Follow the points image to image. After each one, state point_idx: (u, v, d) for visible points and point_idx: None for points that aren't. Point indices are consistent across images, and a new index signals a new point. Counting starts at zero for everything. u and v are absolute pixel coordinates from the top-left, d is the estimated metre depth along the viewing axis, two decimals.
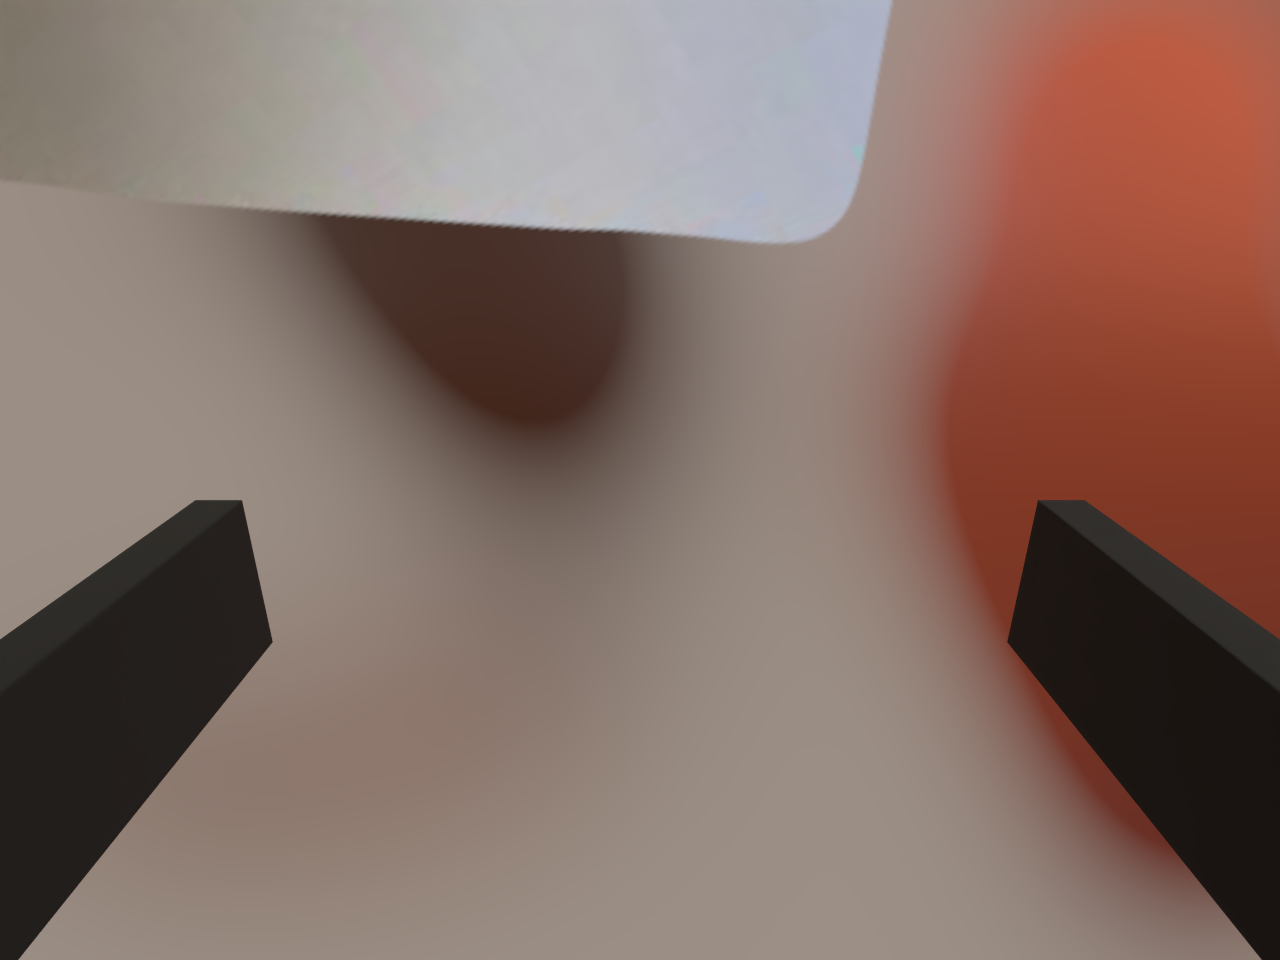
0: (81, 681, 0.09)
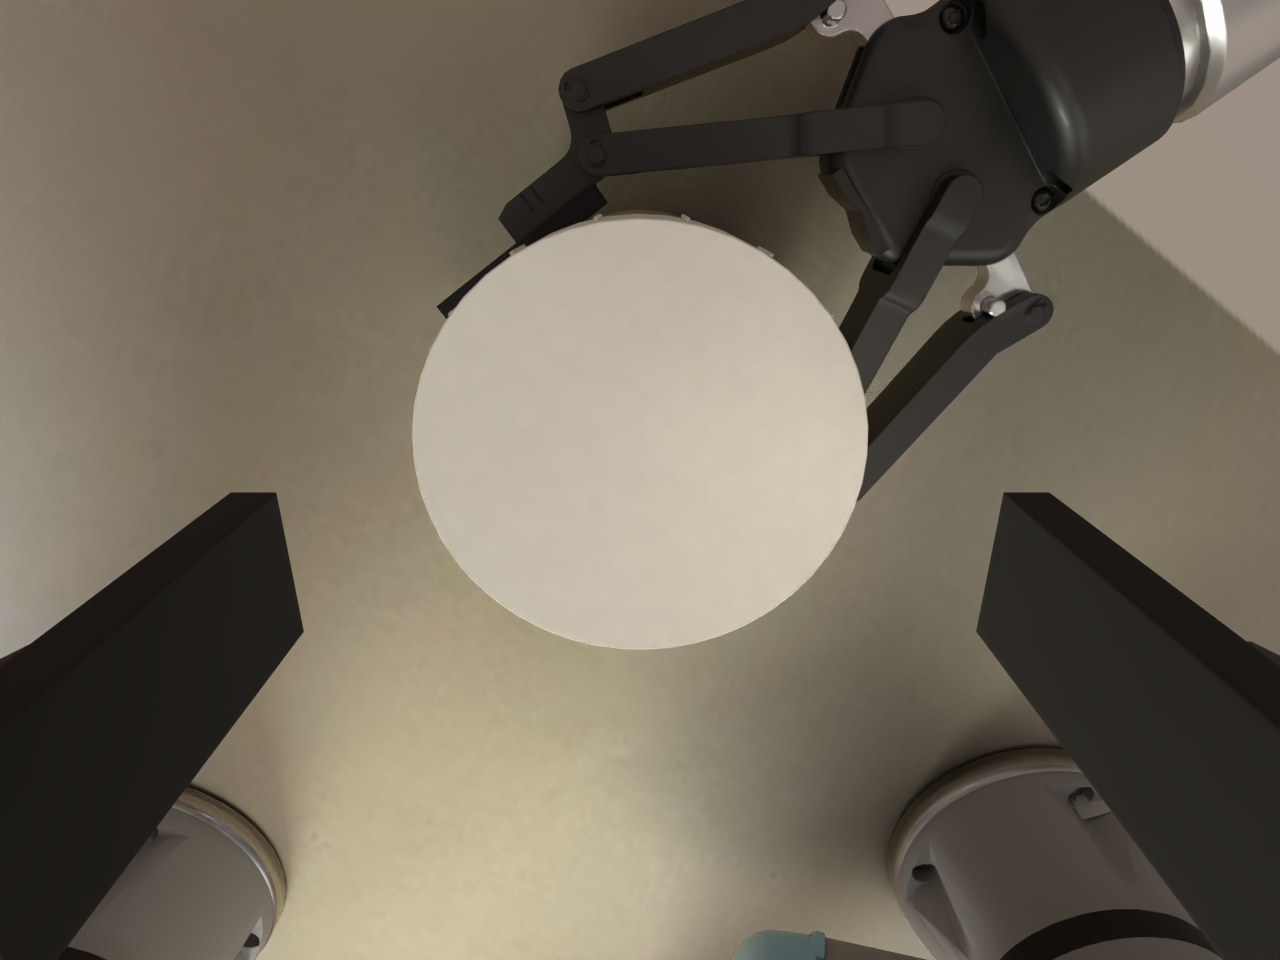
0: (134, 664, 0.09)
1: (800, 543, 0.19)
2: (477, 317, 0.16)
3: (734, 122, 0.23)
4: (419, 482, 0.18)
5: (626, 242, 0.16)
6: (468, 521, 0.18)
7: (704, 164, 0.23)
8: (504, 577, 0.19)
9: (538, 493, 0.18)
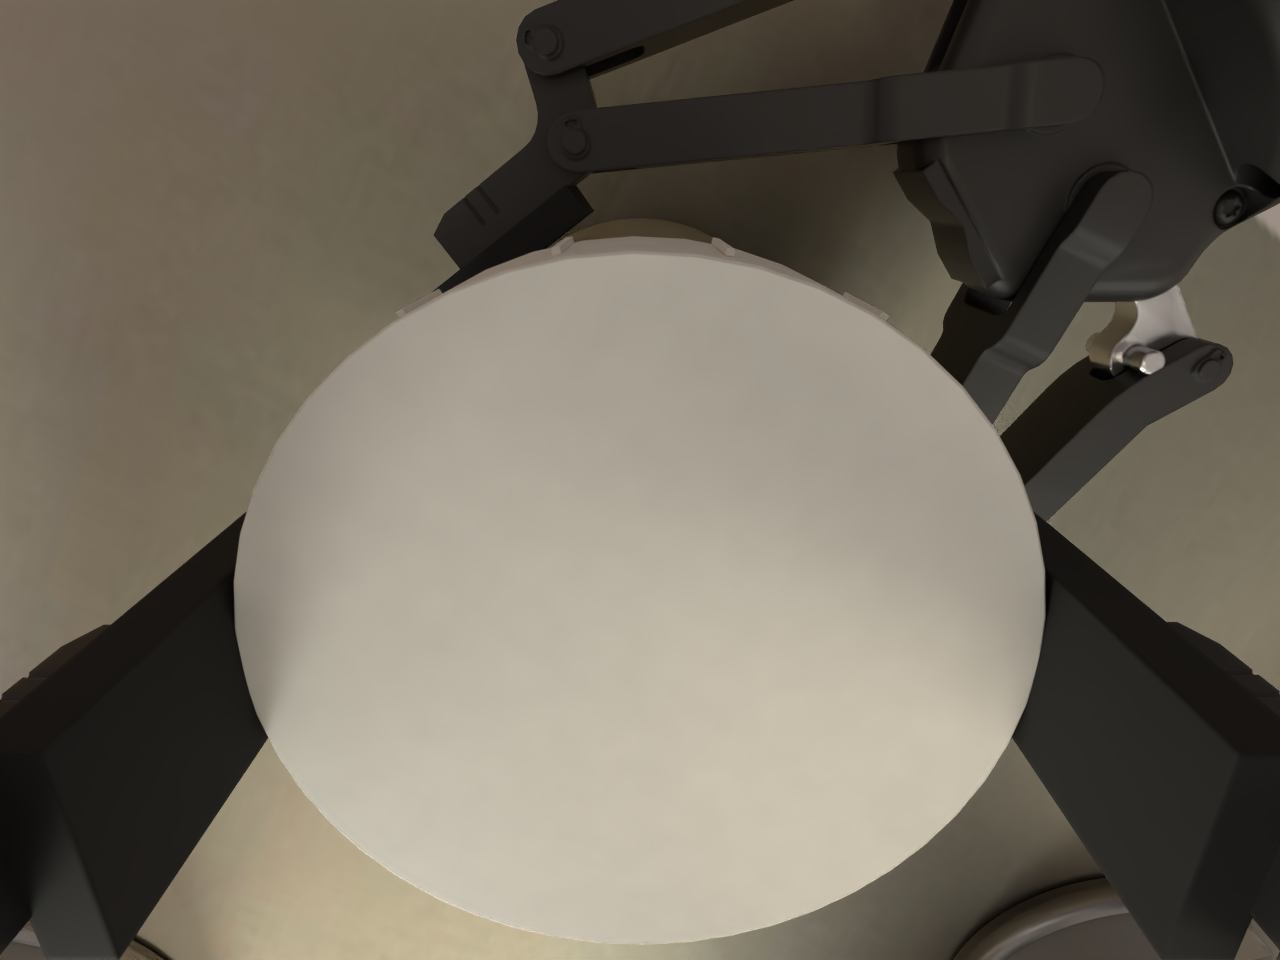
0: (208, 642, 0.09)
1: (912, 795, 0.11)
2: (336, 433, 0.09)
3: (780, 92, 0.15)
4: (254, 705, 0.10)
5: (613, 297, 0.08)
6: (345, 763, 0.11)
7: (735, 155, 0.16)
8: (412, 845, 0.11)
9: (463, 721, 0.10)
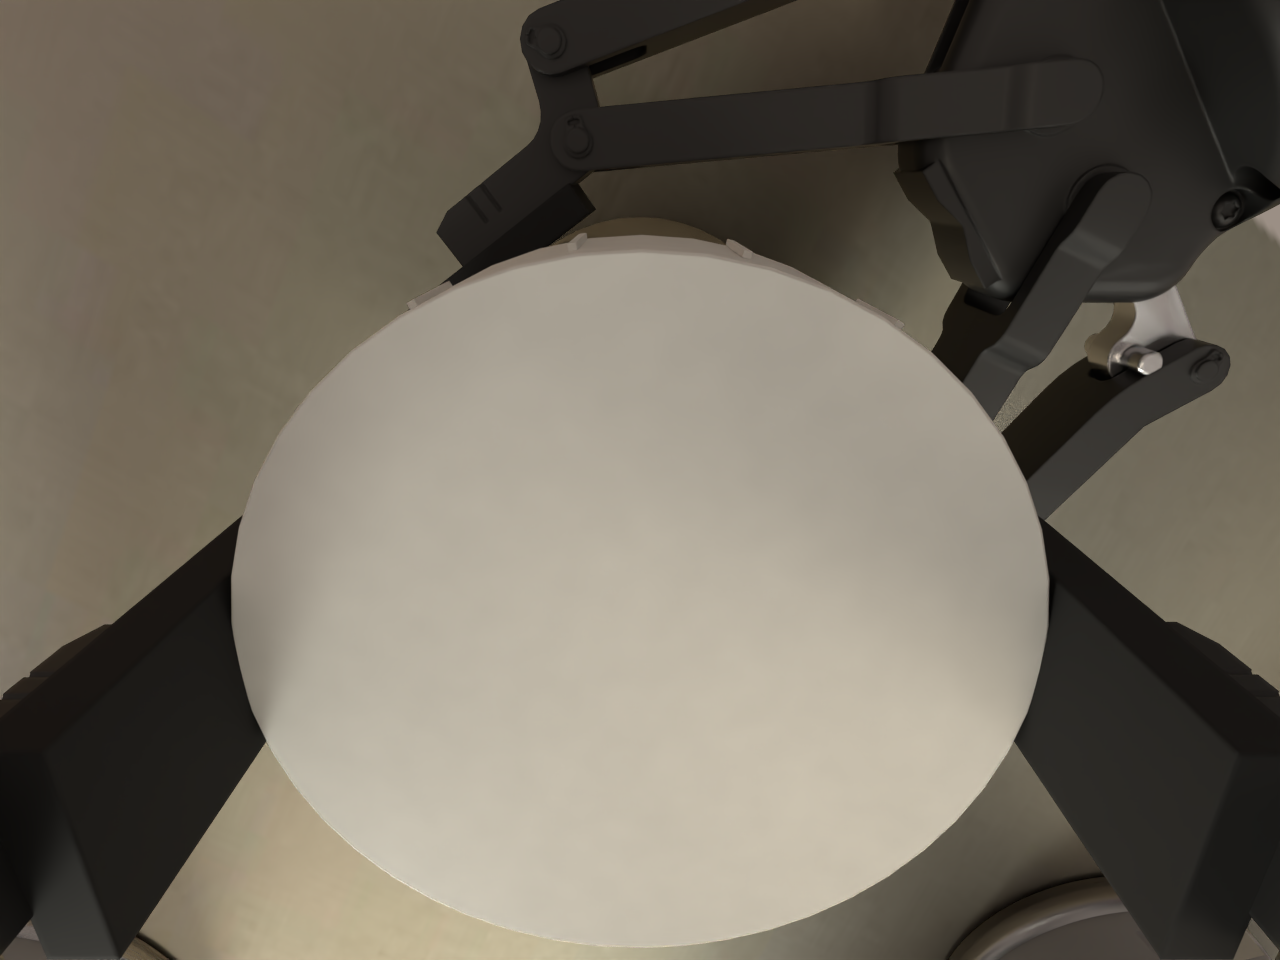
0: (209, 642, 0.09)
1: (749, 341, 0.08)
2: (488, 899, 0.12)
3: (782, 92, 0.15)
4: None
5: (308, 755, 0.11)
6: (811, 870, 0.11)
7: (736, 154, 0.16)
8: (908, 815, 0.11)
9: (741, 794, 0.11)
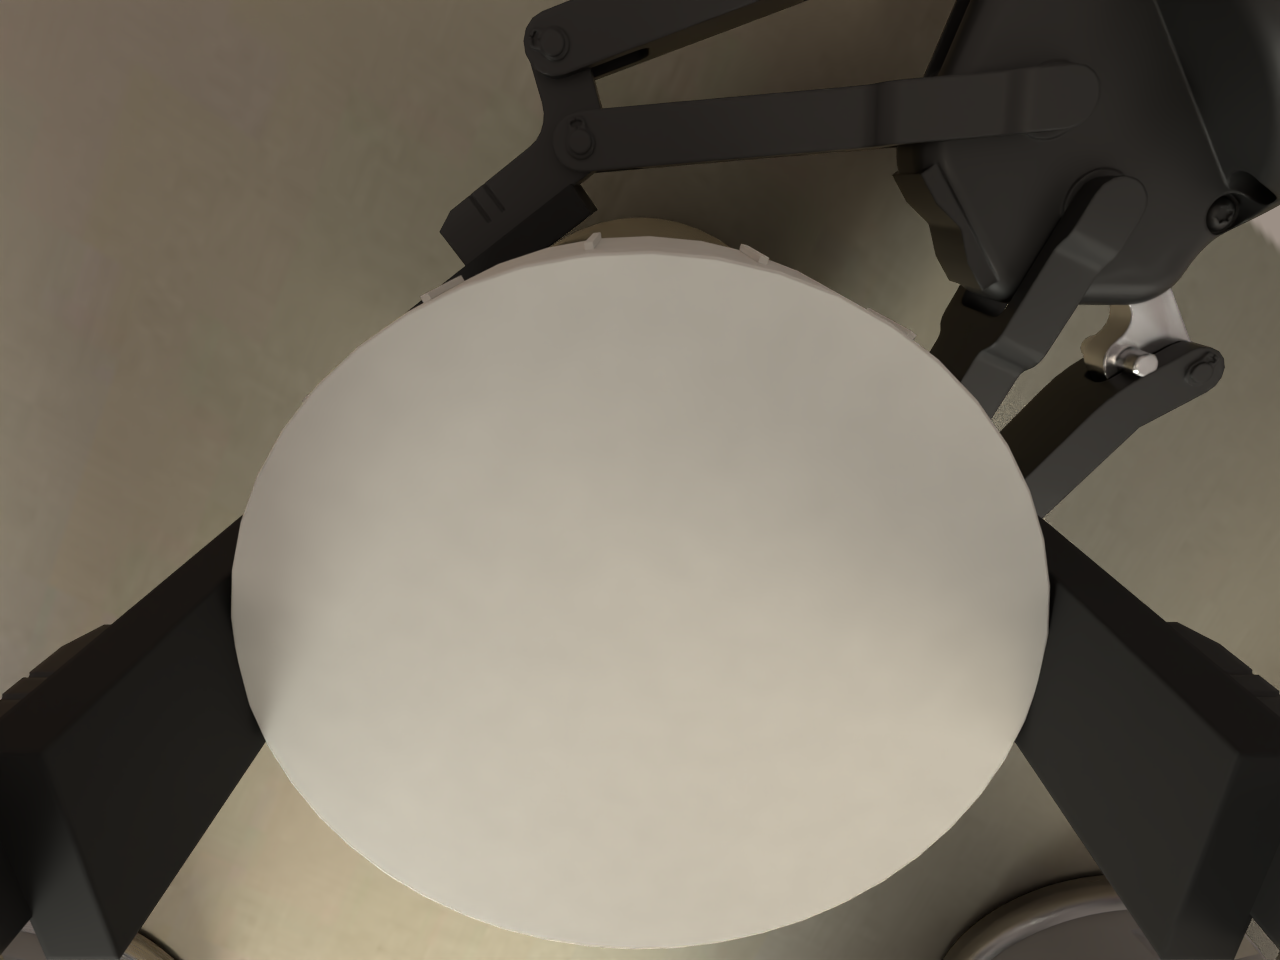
0: (208, 642, 0.09)
1: (297, 662, 0.10)
2: (977, 745, 0.10)
3: (782, 95, 0.16)
4: (1011, 461, 0.09)
5: (804, 897, 0.12)
6: (893, 426, 0.09)
7: (737, 156, 0.16)
8: (778, 340, 0.08)
9: (781, 541, 0.09)
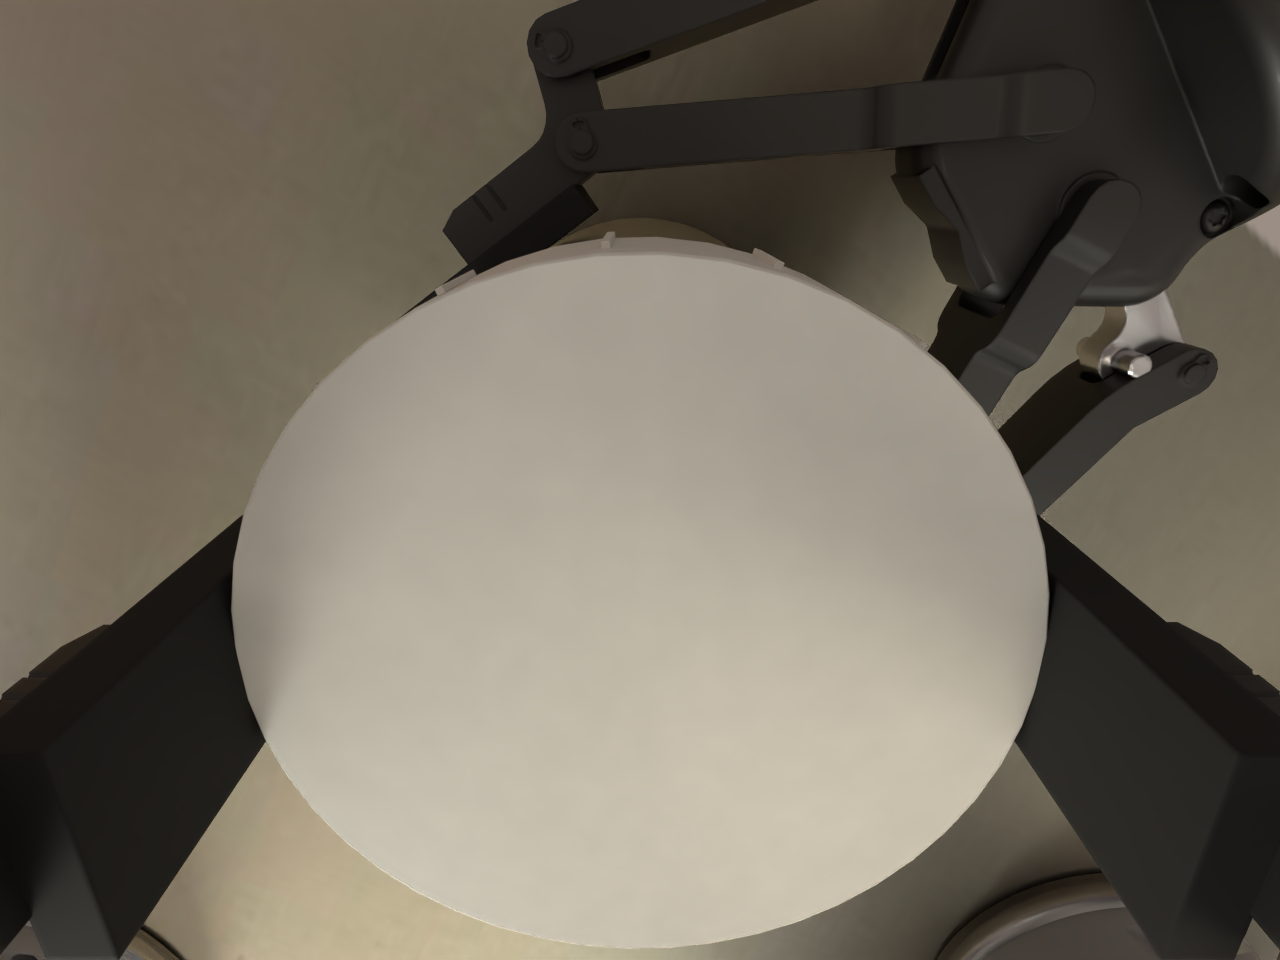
0: (208, 642, 0.09)
1: (702, 908, 0.12)
2: (648, 298, 0.08)
3: (782, 97, 0.16)
4: (298, 416, 0.09)
5: (937, 422, 0.09)
6: (314, 531, 0.09)
7: (737, 158, 0.16)
8: (285, 643, 0.10)
9: (460, 589, 0.10)
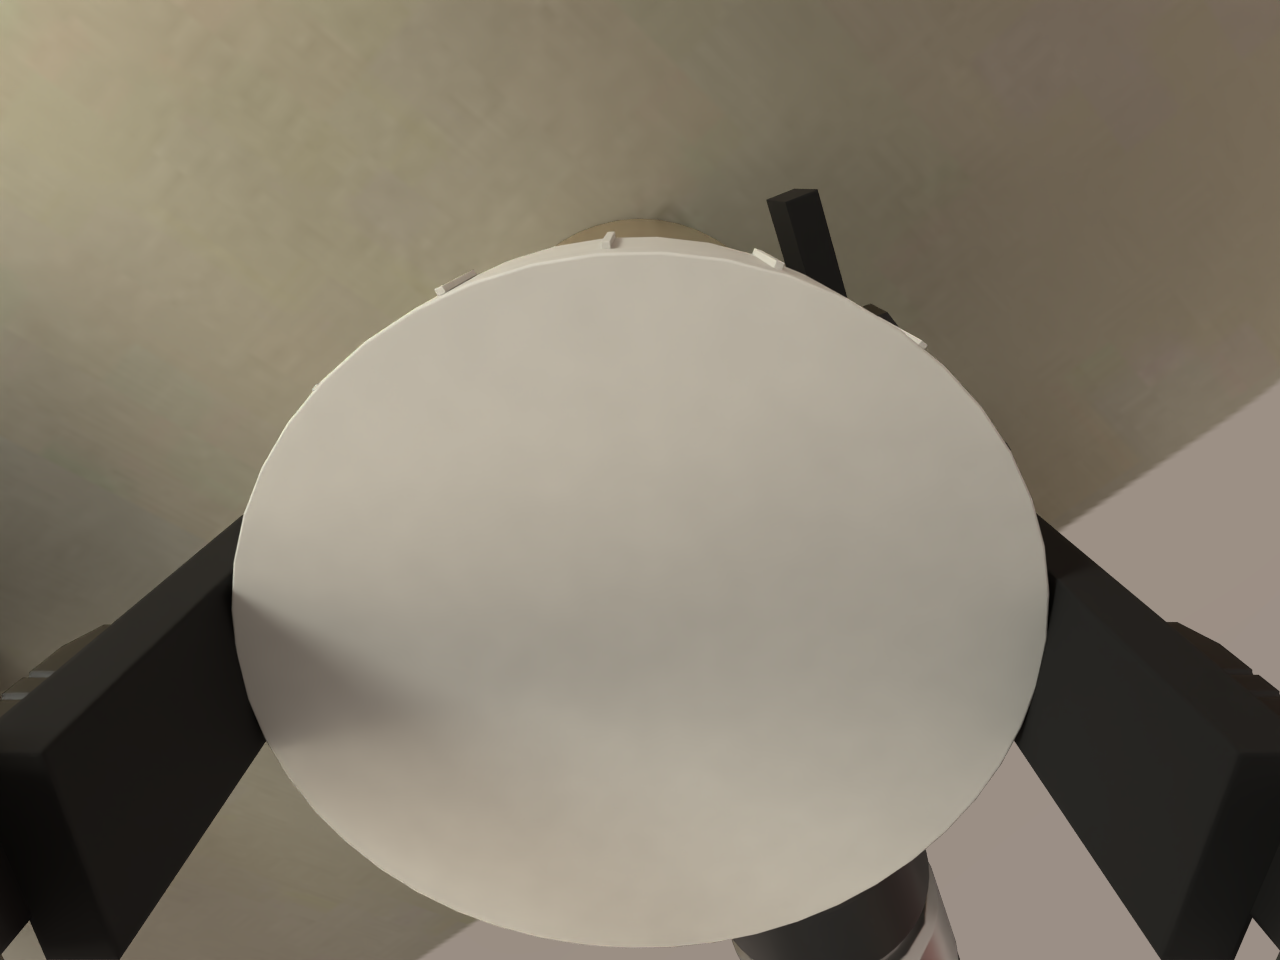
0: (208, 642, 0.09)
1: (702, 908, 0.12)
2: (649, 298, 0.08)
3: None
4: (298, 416, 0.09)
5: (937, 422, 0.09)
6: (315, 531, 0.09)
7: None
8: (285, 643, 0.10)
9: (460, 589, 0.10)
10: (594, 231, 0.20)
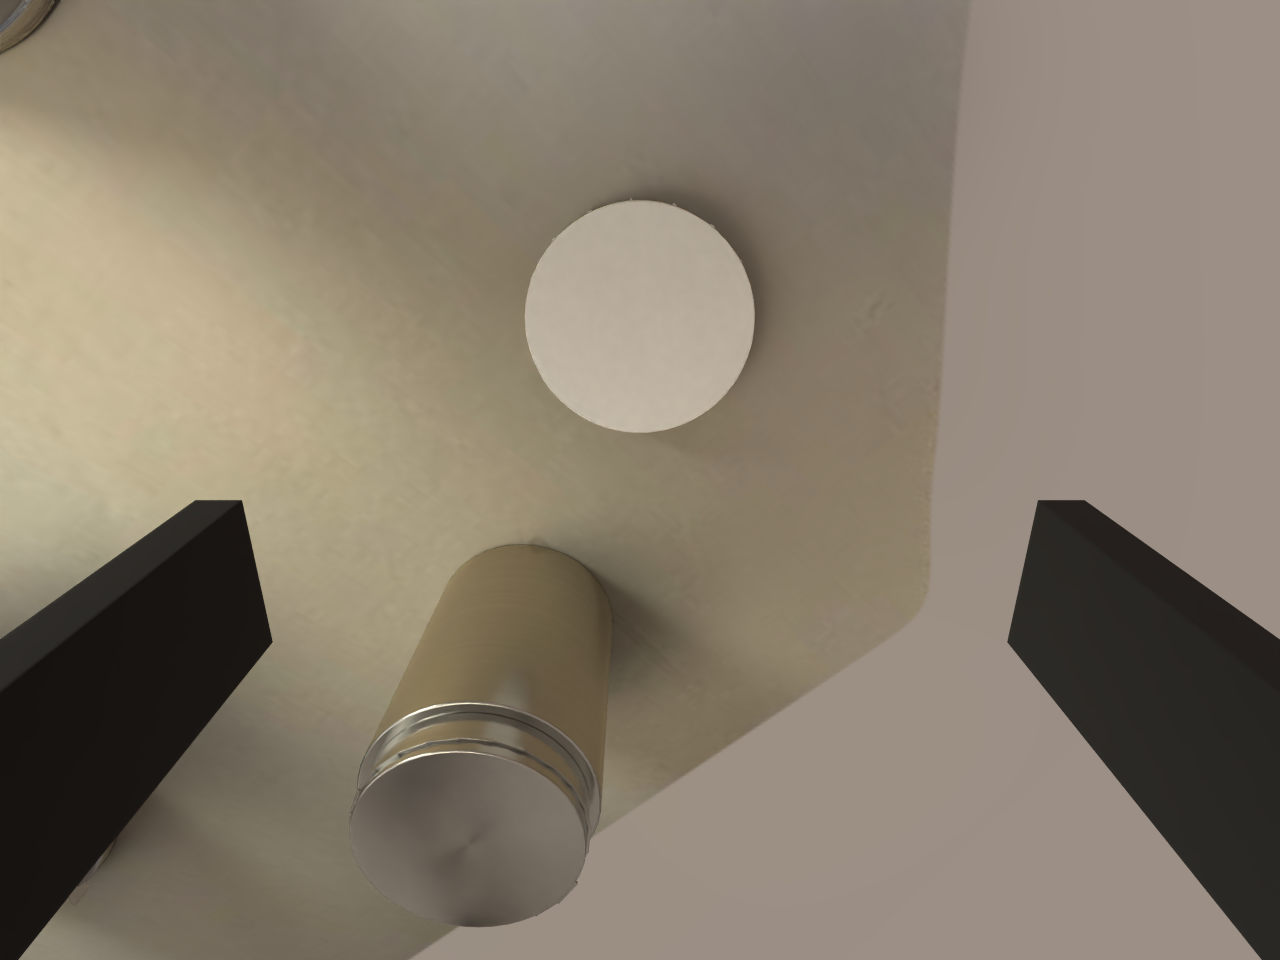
0: (81, 681, 0.09)
1: (659, 415, 0.37)
2: (641, 213, 0.33)
3: None
4: (551, 244, 0.34)
5: (716, 246, 0.34)
6: (551, 278, 0.34)
7: None
8: (539, 314, 0.35)
9: (590, 296, 0.35)
10: (484, 583, 0.38)
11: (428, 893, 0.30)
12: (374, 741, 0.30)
